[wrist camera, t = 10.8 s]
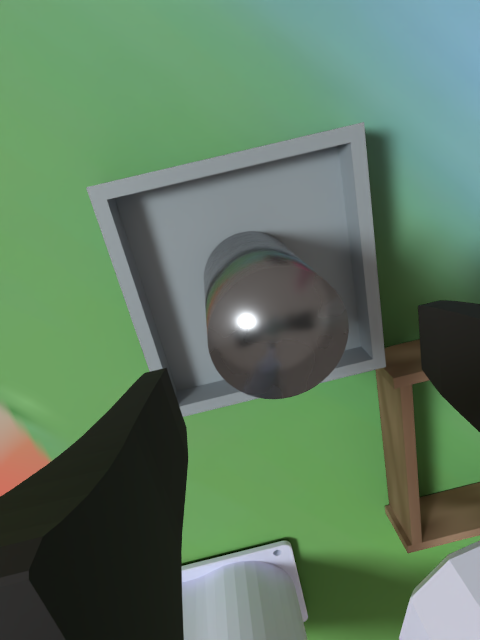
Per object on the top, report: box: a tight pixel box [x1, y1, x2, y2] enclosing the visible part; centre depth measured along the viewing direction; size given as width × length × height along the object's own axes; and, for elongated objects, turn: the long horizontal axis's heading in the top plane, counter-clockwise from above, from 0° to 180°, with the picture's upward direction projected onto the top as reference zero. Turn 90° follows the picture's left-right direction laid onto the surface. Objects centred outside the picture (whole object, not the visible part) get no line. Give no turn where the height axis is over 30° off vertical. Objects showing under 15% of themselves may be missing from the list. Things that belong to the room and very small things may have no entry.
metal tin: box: [204, 231, 349, 399], centre depth 16 cm, size 4×4×7 cm
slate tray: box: [86, 122, 386, 417], centre depth 19 cm, size 11×11×2 cm
